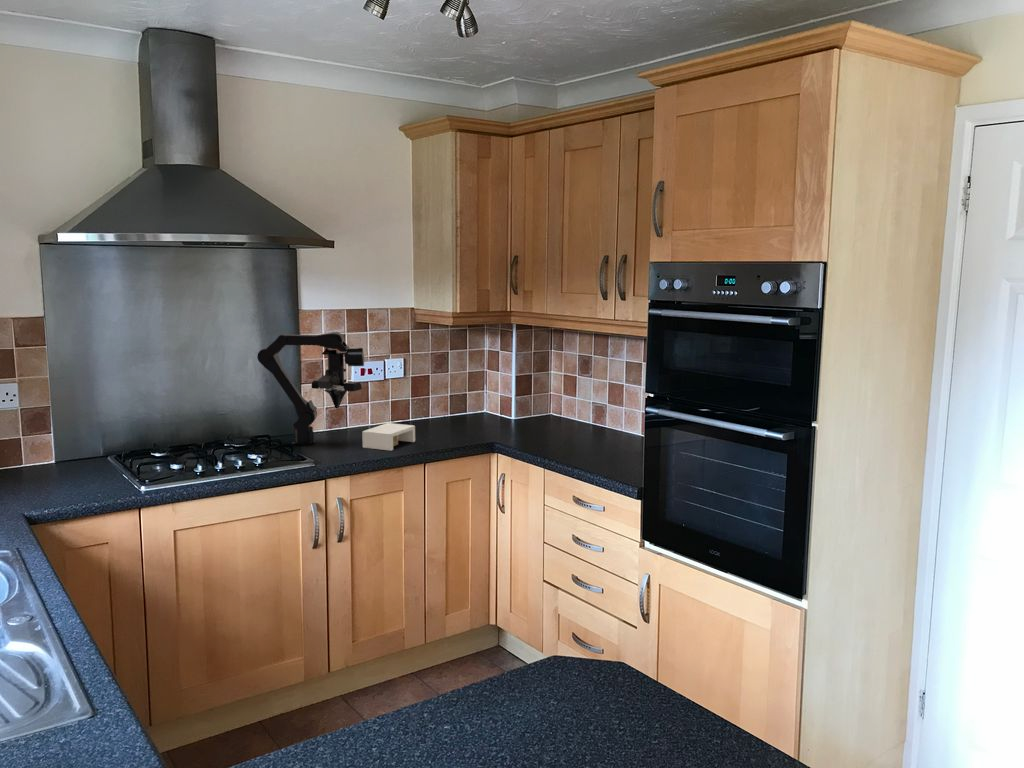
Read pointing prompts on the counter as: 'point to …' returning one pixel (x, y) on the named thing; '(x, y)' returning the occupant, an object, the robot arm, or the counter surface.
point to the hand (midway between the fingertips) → (337, 408)
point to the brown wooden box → (395, 440)
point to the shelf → (387, 435)
